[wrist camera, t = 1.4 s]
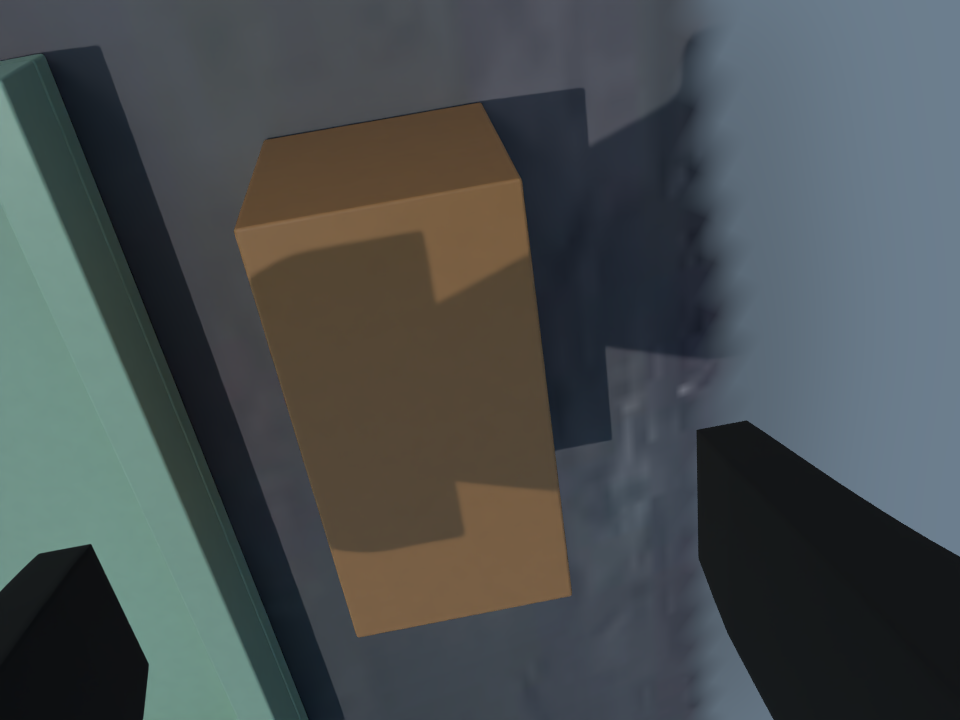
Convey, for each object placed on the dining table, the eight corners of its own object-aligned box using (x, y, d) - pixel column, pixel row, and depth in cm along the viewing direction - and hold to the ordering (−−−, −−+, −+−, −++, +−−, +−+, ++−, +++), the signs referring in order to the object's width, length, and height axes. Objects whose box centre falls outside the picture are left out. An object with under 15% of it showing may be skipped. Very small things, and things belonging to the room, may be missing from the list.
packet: (481, 101, 16) (522, 177, 12) (530, 454, 20) (572, 596, 16) (263, 139, 16) (232, 229, 12) (356, 487, 20) (357, 639, 16)
